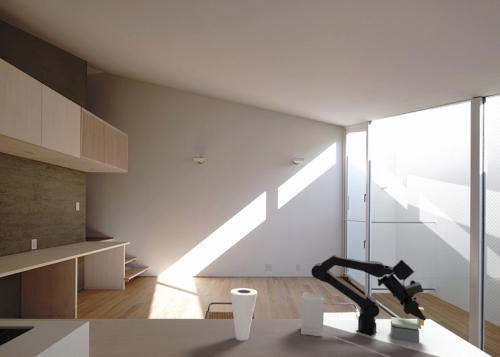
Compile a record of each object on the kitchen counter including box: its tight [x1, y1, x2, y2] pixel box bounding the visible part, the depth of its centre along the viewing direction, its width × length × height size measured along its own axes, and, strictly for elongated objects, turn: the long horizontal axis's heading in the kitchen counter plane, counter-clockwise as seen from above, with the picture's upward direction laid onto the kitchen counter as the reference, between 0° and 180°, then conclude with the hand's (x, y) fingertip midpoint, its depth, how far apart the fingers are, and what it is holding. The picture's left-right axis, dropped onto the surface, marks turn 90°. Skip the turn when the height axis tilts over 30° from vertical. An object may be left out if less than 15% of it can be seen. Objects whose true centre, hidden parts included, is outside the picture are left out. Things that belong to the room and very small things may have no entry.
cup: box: [230, 287, 258, 342], centre depth 138 cm, size 11×11×18 cm
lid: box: [390, 306, 425, 330], centre depth 145 cm, size 12×8×8 cm
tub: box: [390, 321, 420, 344], centre depth 145 cm, size 10×8×5 cm
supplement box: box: [300, 292, 325, 337], centre depth 148 cm, size 9×9×15 cm
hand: (424, 318), depth 143 cm, fingers closed on lid, 3 cm apart
